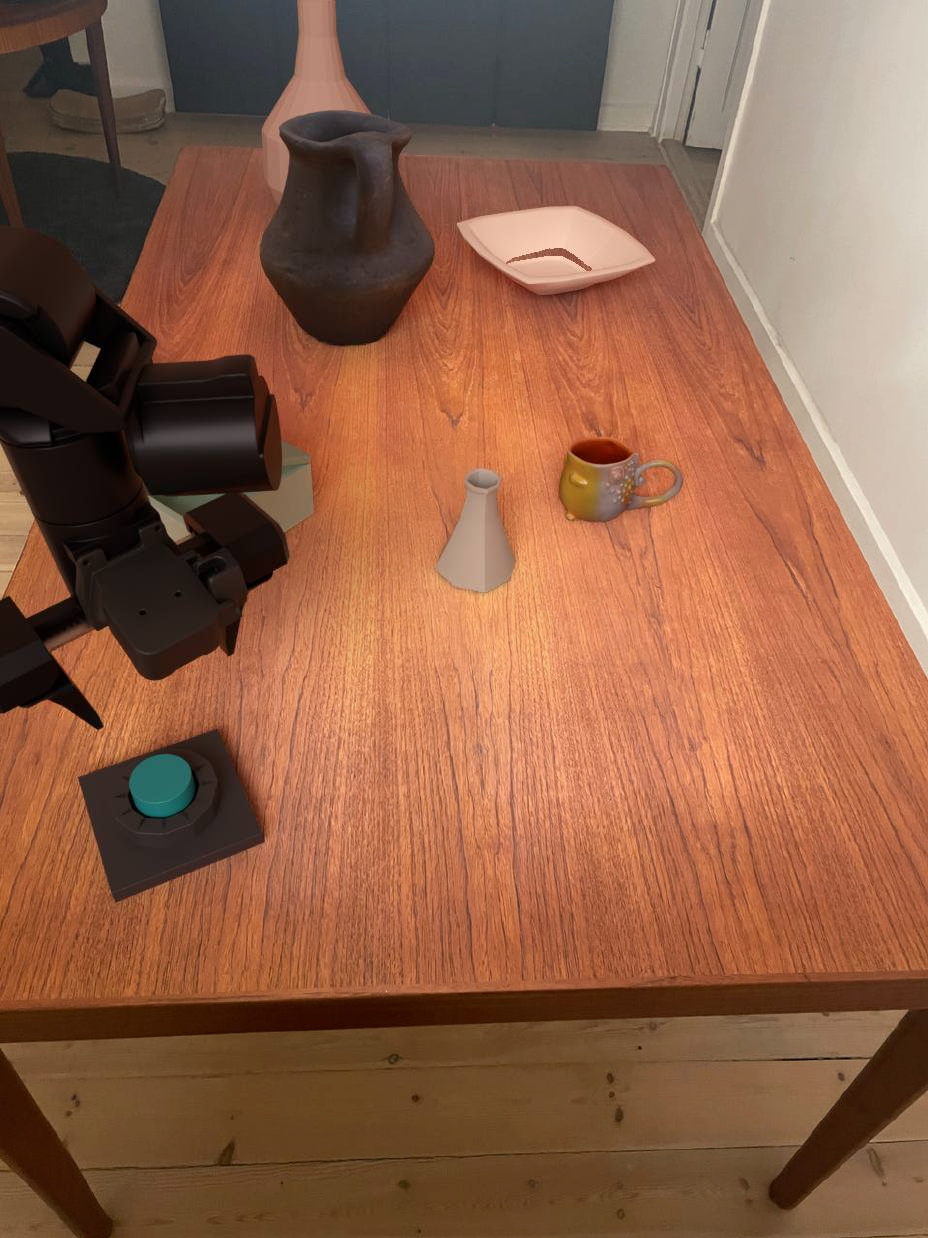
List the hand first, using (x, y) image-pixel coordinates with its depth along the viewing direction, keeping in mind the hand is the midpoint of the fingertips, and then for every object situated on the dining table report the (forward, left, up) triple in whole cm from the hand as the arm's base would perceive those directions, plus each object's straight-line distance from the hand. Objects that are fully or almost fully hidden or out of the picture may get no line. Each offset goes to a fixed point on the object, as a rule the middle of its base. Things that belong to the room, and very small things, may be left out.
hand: (165, 687), depth 58 cm
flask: (+30, +12, -10) cm, 34 cm away
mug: (+47, +14, -10) cm, 50 cm away
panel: (-2, -2, -10) cm, 11 cm away
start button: (-2, -2, -8) cm, 8 cm away
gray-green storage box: (+11, +28, -10) cm, 32 cm away
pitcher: (+38, +58, -10) cm, 70 cm away
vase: (+48, +90, -10) cm, 103 cm away
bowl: (+69, +61, -10) cm, 93 cm away
